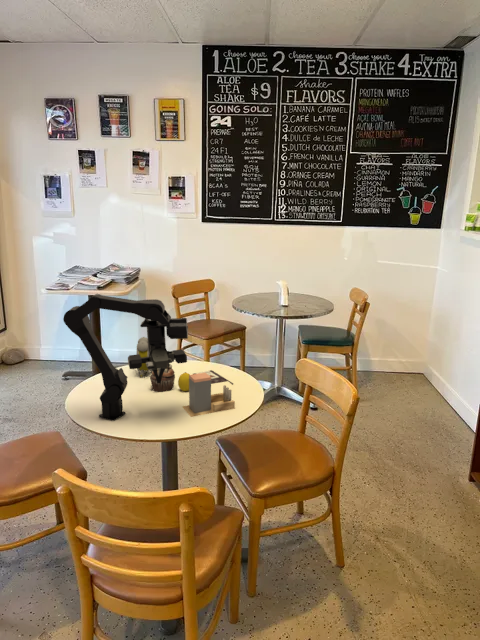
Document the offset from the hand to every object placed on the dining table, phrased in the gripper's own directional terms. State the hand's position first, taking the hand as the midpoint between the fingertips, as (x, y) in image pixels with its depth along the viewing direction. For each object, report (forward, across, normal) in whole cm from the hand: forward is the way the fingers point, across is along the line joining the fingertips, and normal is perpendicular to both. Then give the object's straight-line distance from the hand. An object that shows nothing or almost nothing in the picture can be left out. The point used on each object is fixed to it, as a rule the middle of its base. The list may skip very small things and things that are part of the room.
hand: (158, 382), depth 157 cm
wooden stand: (+12, +16, -3) cm, 20 cm away
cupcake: (+13, +4, +22) cm, 26 cm away
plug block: (+10, +13, -3) cm, 17 cm away
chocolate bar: (+14, +25, +25) cm, 38 cm away
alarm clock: (+14, 0, +40) cm, 42 cm away
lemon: (+13, +12, +15) cm, 23 cm away
